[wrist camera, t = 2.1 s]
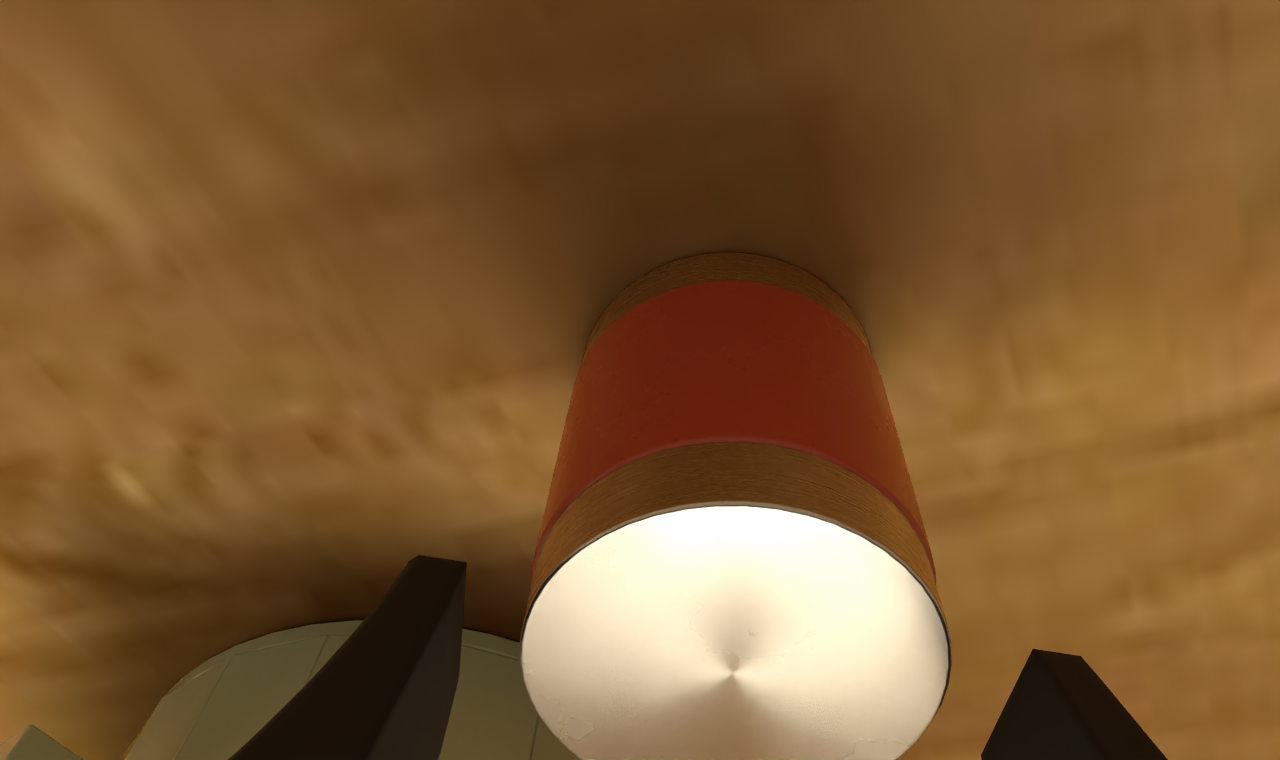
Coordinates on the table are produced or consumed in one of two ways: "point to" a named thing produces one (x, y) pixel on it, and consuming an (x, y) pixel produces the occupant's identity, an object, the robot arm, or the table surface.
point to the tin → (732, 534)
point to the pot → (282, 665)
